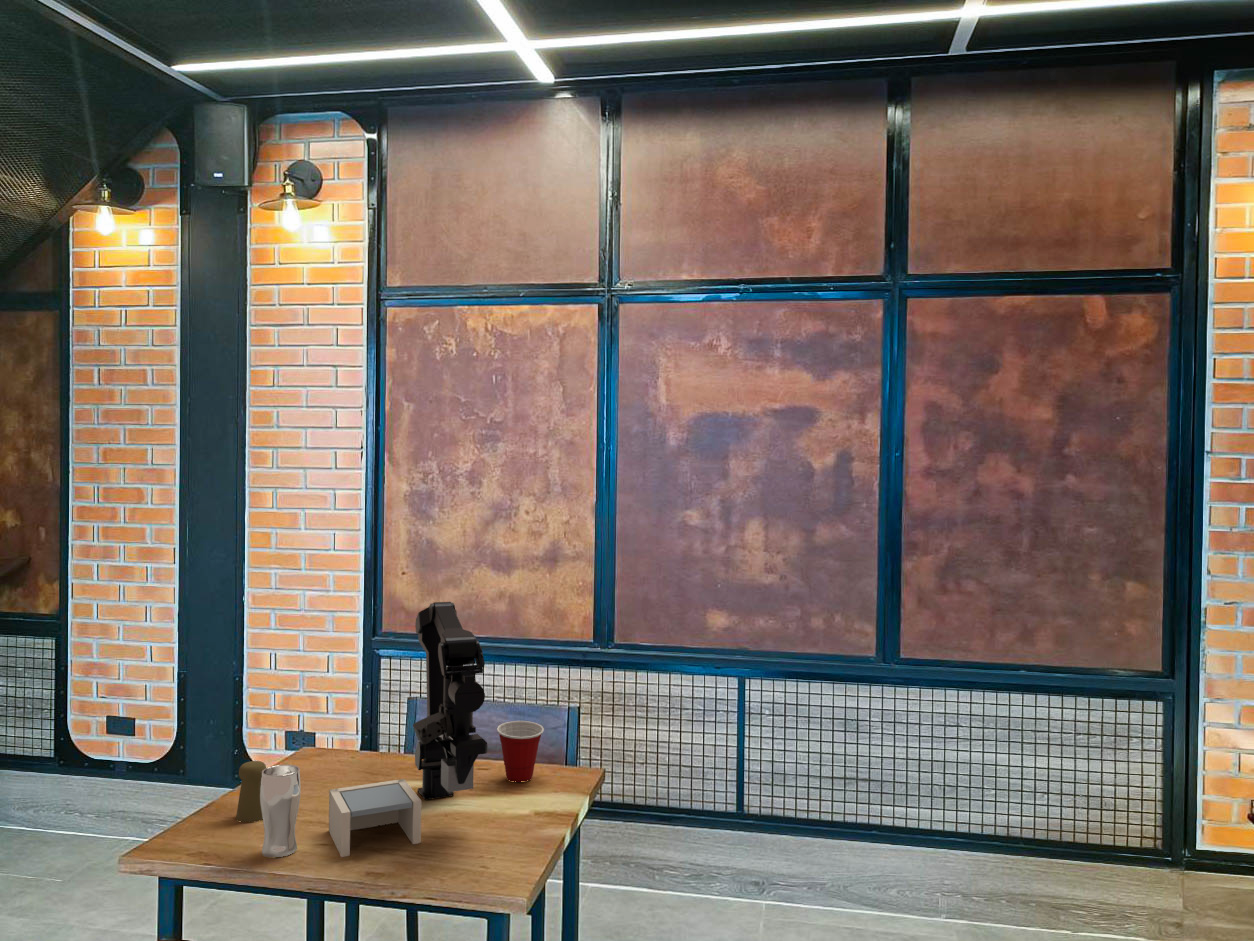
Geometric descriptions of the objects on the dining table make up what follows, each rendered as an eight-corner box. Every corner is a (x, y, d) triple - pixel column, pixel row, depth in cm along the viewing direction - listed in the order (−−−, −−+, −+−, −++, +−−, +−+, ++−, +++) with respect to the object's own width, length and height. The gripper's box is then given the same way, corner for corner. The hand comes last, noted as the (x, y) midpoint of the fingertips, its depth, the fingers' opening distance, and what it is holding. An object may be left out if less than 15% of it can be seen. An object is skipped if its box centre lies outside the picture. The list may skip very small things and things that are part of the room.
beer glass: (275, 862, 160) (276, 779, 160) (251, 853, 164) (252, 771, 164) (307, 849, 166) (308, 768, 166) (283, 840, 170) (284, 761, 170)
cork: (274, 814, 183) (275, 760, 183) (250, 824, 177) (251, 769, 178) (252, 809, 185) (253, 756, 186) (228, 819, 180) (229, 764, 180)
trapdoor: (340, 796, 174) (340, 791, 174) (397, 788, 179) (397, 783, 179) (351, 817, 164) (352, 811, 164) (411, 807, 169) (411, 802, 169)
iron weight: (440, 784, 177) (441, 758, 177) (465, 780, 179) (465, 755, 179) (448, 792, 172) (448, 766, 172) (473, 788, 175) (473, 762, 175)
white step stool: (328, 830, 175) (329, 789, 175) (403, 818, 182) (404, 778, 182) (341, 857, 163) (341, 813, 163) (420, 842, 170) (421, 800, 170)
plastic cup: (506, 790, 199) (507, 736, 199) (489, 775, 208) (489, 724, 208) (551, 782, 204) (552, 729, 204) (531, 768, 214) (532, 718, 214)
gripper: (405, 693, 180) (404, 771, 180) (430, 716, 164) (429, 801, 164) (459, 688, 185) (458, 763, 185) (488, 709, 169) (487, 792, 169)
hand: (457, 779), depth 176 cm, fingers closed on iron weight, 5 cm apart
